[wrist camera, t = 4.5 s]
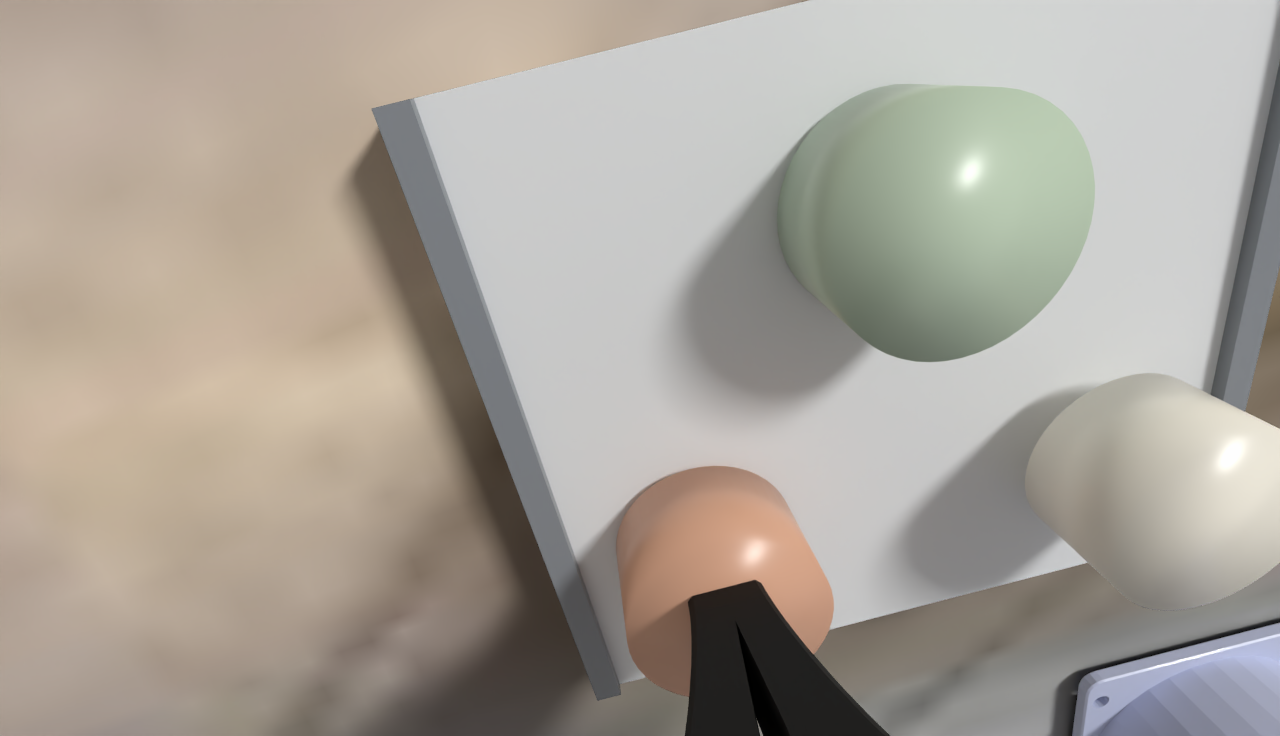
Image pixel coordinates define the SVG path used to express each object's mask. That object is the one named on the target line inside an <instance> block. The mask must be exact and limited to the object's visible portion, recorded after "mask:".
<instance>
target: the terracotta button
mask: <svg viewBox="0 0 1280 736" xmlns="http://www.w3.org/2000/svg"><path fill="white" fill-rule="evenodd" d="M616 555H617V564H618V572H619V580H620V588H621V596H622V605H623V613H624V621H625V629H626V637H627V644H628V648H629V652H630V655H631V657H632V659H633V661H634V663H635V664H636V666H637V667H638V669H639V670H640V671H641V672H642V673H643V674H644V675H645V677H647V678H648V679H649V680H651V681H652V682H653V683H654V684H656V685H658V686H660V687H662V688H663V689H666V690H668V691H670V692H673V693H676V694H680V695H683V696H688V697H689V692H690V676H691V622H690V612H689V607H688V601H689V600H690V598H691V597H692V596H694V595H698V594H702V593H706V592H710V591H713V590H717V589H721V588H725V587H729V586H733V585H737V584H741V583H744V582H748V581H752V580H757V581H759V582H761V583H762V585H763V586H764V588H765V590H766V592H767V593H768V595H769V596H770V598H771V599H772V601H773V603H774V604H775V605H776V607H777V608H778V610H779V611H780V613H781V614H782V615H783V617H784V618H785V620H786V621H787V622H788V623H789V625H790V626H791V627H792V629H793V630H794V631H795V633H796V634H797V635H798V636H799V638H800V639H801V640H802V641H803V643H804V644H805V645H806V646H807V648H808V649H809V650H810V651H811V652H812V653H813V654H814V653H815V652H816V651H817V650H818V648H819V647H820V645H821V644H822V642H823V641H824V639H825V637H826V635H827V633H828V631H829V629H830V625H831V622H832V619H833V612H834V599H833V594H832V589H831V587H830V584H829V582H828V580H827V578H826V576H825V574H824V572H823V570H822V568H821V567H820V565H819V563H818V561H817V559H816V557H815V555H814V553H813V552H812V550H811V548H810V546H809V544H808V542H807V540H806V538H805V536H804V535H803V533H802V531H801V529H800V527H799V525H798V523H797V521H796V520H795V518H794V516H793V514H792V512H791V510H790V508H789V506H788V505H787V503H786V501H785V499H784V498H783V496H782V495H781V493H780V492H779V491H778V490H777V489H776V488H775V487H774V486H773V485H772V484H771V483H770V482H768V481H767V480H766V479H764V478H762V477H760V476H759V475H757V474H754V473H752V472H750V471H747V470H743V469H740V468H735V467H728V466H705V467H698V468H693V469H688V470H685V471H682V472H679V473H676V474H673V475H671V476H669V477H667V478H665V479H663V480H661V481H659V482H658V483H656V484H654V485H653V486H652V487H650V488H649V489H648V490H646V491H645V492H644V493H643V494H642V495H641V496H640V497H639V498H637V499H636V501H635V502H634V503H633V504H632V505H631V507H630V508H629V510H628V511H627V513H626V514H625V516H624V518H623V520H622V522H621V524H620V527H619V530H618V534H617V540H616Z"/></svg>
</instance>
